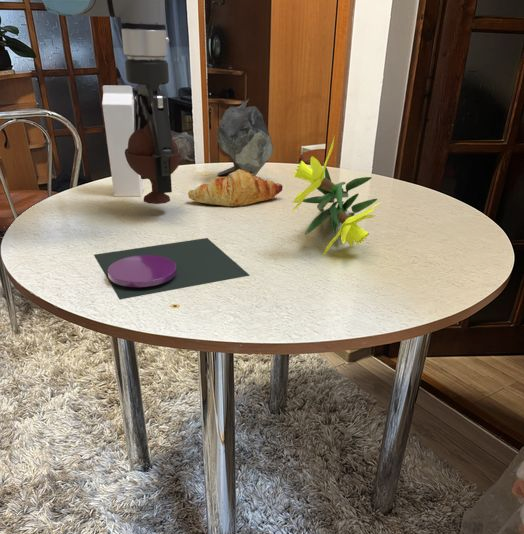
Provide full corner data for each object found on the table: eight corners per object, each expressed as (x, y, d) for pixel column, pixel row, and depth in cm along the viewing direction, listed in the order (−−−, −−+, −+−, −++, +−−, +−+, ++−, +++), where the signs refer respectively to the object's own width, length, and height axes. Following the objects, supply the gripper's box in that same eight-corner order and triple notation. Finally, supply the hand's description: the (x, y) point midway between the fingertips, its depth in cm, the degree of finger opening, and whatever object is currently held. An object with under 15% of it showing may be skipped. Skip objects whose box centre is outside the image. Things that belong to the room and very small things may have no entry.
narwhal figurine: (213, 188, 122) (210, 105, 112) (217, 173, 135) (215, 97, 125) (273, 189, 122) (275, 107, 112) (271, 174, 135) (273, 98, 125)
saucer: (102, 270, 79) (101, 260, 78) (165, 260, 83) (164, 251, 82) (117, 296, 71) (116, 286, 70) (186, 284, 75) (185, 274, 74)
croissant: (192, 223, 110) (192, 195, 104) (183, 190, 115) (183, 161, 108) (285, 214, 115) (291, 187, 109) (273, 183, 120) (278, 155, 113)
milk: (141, 197, 115) (130, 87, 103) (113, 196, 114) (99, 86, 102) (144, 189, 120) (133, 84, 108) (117, 189, 119) (104, 83, 108)
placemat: (94, 257, 84) (93, 254, 84) (207, 240, 92) (207, 237, 92) (120, 303, 71) (119, 299, 70) (250, 278, 78) (250, 275, 78)
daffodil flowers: (391, 220, 107) (401, 228, 74) (327, 252, 111) (310, 273, 78) (356, 144, 104) (351, 118, 71) (293, 180, 108) (260, 171, 75)
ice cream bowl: (182, 192, 109) (178, 115, 101) (184, 207, 100) (180, 125, 92) (131, 192, 107) (123, 115, 99) (128, 208, 98) (119, 124, 90)
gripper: (188, 63, 83) (193, 198, 95) (148, 55, 100) (157, 170, 112) (143, 62, 80) (154, 202, 92) (110, 54, 97) (122, 173, 109)
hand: (155, 185), depth 102 cm, fingers closed on ice cream bowl, 11 cm apart
